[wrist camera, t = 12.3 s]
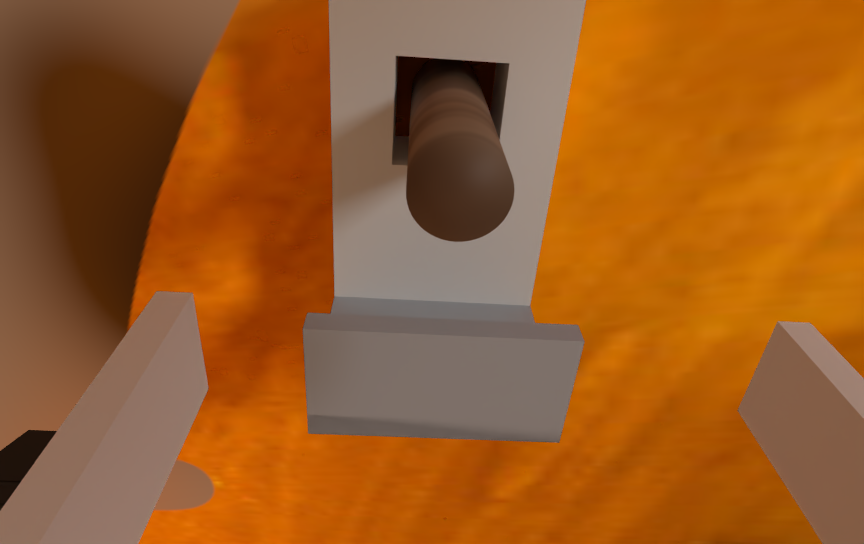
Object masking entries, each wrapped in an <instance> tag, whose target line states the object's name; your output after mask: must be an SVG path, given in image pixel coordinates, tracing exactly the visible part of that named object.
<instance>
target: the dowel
mask: <svg viewBox="0 0 864 544" xmlns="http://www.w3.org/2000/svg"><path fill="white" fill-rule="evenodd" d="M513 199H514V181H513V177H512V174H511V171H510V168H509V165H508V163H507V160H506V157H505V154H504V151H503V148H502V146H501V143H500V140H499V137H498V134H497V132H496V129H495V126H494V123H493V120H492V117H491V115H490V112H489V109H488V106H487V103H486V101H485V98H484V95H483V92H482V89H481V86H480V84H479V81H478V78H477V76H476V74H475V72H474V70H473V69H472V68H471V67H470V66H469V65H468V64H467V63H466V62H464V61H462V60H452V59H437V58H434V59H432V60H430V61H428V62H427V63H425V64H424V65H423V66H422V67H421V68H420V69H419V71H418V72H417V74H416V75H415V78H414V80H413V84H412V92H411V110H410V128H409V146H408V164H407V182H406V200H407V205H408V208H409V211H410V213H411V215H412V217H413V218H414V220H415V221H416V222H417V224H418V225H419V226H420V227H421V228H422V229H423V230H425V231H426V232H428V233H429V234H431V235H433V236H435V237H437V238H439V239H442V240H447V241H453V242H464V241H471V240H475V239H478V238H481V237H483V236H485V235H487V234H489V233H490V232H492V231H493V230H494V229H496V228H497V227H498V226H499V225H500V224H501V223H502V222H503V221H504V219H505V218H506V216H507V215H508V213H509V211H510V209H511V206H512V203H513Z"/></svg>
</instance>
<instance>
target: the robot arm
mask: <svg viewBox="0 0 864 544" xmlns="http://www.w3.org/2000/svg"><path fill="white" fill-rule="evenodd" d="M208 389H209V388H208V382H207V376H206V370H205V364H204V358H203V352H202V346H201V340H200V334H199V328H198V322H197V316H196V310H195V304H194V298H193V293H184V292H163V291H157V292H156V293H155V294H154V296H153V297H152V299H151V300H150V301H149V303H148V304H147V306H146V307H145V308H144V310H143V311H142V313H141V314H140V315H139V317H138V318H137V320H136V321H135V322H134V324H133V325H132V327H131V328H130V329H129V331H128V332H127V334H126V335H125V336H124V338H123V339H122V341H121V342H120V344H119V345H118V346H117V348H116V349H115V351H114V352H113V353H112V355H111V356H110V358H109V359H108V360H107V362H106V363H105V365H104V366H103V367H102V369H101V370H100V372H99V373H98V374H97V376H96V377H95V379H94V380H93V381H92V383H91V384H90V386H89V387H88V388H87V390H86V391H85V393H84V394H83V395H82V397H81V398H80V400H79V401H78V402H77V404H76V406H75V407H74V408H73V410H72V411H71V412H70V414H69V415H68V417H67V418H66V419H65V421H64V422H63V424H62V425H61V426H60V428H59V429H58V431H39V430H28V431H27V432H25V433H24V434H23V435H21V436H20V437H18V438H17V439H16V440H15V441H13V442H12V443H10V444H9V445H8V446H6V447H5V448H4V449H2V450H1V451H0V544H138V543H139V541H140V538H141V536H142V534H143V532H144V530H145V527H146V525H147V523H148V521H149V519H150V516H151V514H152V512H153V510H154V508H155V505H156V503H157V501H158V499H159V496H160V494H161V492H162V490H163V488H164V485H165V483H166V481H167V479H168V477H169V475H170V472H171V470H172V468H173V465H174V463H175V461H176V459H177V457H178V455H179V453H180V450H181V448H182V446H183V444H184V442H185V439H186V437H187V435H188V433H189V431H190V428H191V426H192V424H193V422H194V420H195V417H196V415H197V413H198V411H199V409H200V406H201V404H202V402H203V400H204V398H205V395H206V393H207V391H208ZM738 412H739V413H740V415H741V417H742V418H743V420H744V421H745V423H746V424H747V426H748V428H749V429H750V431H751V432H752V434H753V435H754V437H755V438H756V440H757V442H758V443H759V445H760V446H761V448H762V449H763V451H764V453H765V454H766V456H767V457H768V459H769V460H770V462H771V463H772V465H773V467H774V468H775V470H776V471H777V473H778V474H779V476H780V477H781V479H782V481H783V482H784V484H785V485H786V487H787V488H788V490H789V492H790V493H791V495H792V496H793V498H794V499H795V501H796V502H797V504H798V506H799V507H800V509H801V510H802V512H803V513H804V515H805V517H806V518H807V520H808V521H809V523H810V524H811V526H812V527H813V529H814V531H815V532H816V534H817V535H818V537H819V538H820V540H821V542H822V543H823V544H864V379H863V377H862V376H861V375H860V374H859V373H858V372H857V371H856V370H855V369H854V368H853V367H852V366H851V365H850V364H849V363H848V362H847V361H846V360H845V359H844V358H843V357H842V356H841V355H840V353H839V352H838V351H837V350H836V349H835V348H834V347H833V346H832V345H831V344H830V343H829V342H828V341H827V340H826V339H825V338H824V337H823V336H822V335H821V334H820V333H819V332H818V331H817V329H816V328H815V327H814V326H813V325H812V324H811V323H801V322H780V321H778V322H777V324H776V326H775V329H774V331H773V333H772V335H771V337H770V340H769V342H768V344H767V346H766V348H765V351H764V353H763V355H762V357H761V360H760V362H759V364H758V366H757V368H756V371H755V373H754V375H753V377H752V380H751V382H750V384H749V386H748V388H747V391H746V393H745V395H744V397H743V399H742V402H741V404H740V406H739V408H738Z"/></svg>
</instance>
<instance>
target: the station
mask: <svg viewBox="0 0 864 544" xmlns="http://www.w3.org/2000/svg"><path fill="white" fill-rule="evenodd" d="M585 4H586V0H329V41H330V92H331V144H332V195H333V247H334V301H333V305H332V309H331V314H326V313H307V316H306V319H305V323H304V326H303V344H304V362H305V381H306V399H307V418H308V433H310V434H337V435H365V436H393V437H420V438H448V439H476V440H503V441H531V442H558V443H559V441H560V437H561V433H562V429H563V425H564V421H565V417H566V413H567V409H568V405H569V401H570V397H571V393H572V389H573V385H574V381H575V377H576V373H577V369H578V365H579V361H580V357H581V353H582V349H583V345H584V339H583V337H582V334H581V332H580V329H579V326H578V325H564V324H543V323H535V321H534V318H533V314H532V311H531V307H530V303H531V297H532V292H533V287H534V281H535V276H536V270H537V265H538V259H539V254H540V249H541V243H542V238H543V232H544V227H545V221H546V216H547V210H548V205H549V200H550V194H551V189H552V183H553V178H554V172H555V167H556V162H557V156H558V151H559V145H560V140H561V134H562V129H563V123H564V118H565V113H566V107H567V102H568V96H569V91H570V85H571V80H572V74H573V69H574V64H575V58H576V53H577V47H578V42H579V36H580V31H581V26H582V20H583V15H584V9H585ZM398 56H408V57H423V58H437V59H452V60H467V61H482V62H496V67H495V76H494V84H493V93H492V101H491V110H490V115H491V117H492V120H493V123H494V126H495V129H496V132H497V134H498V137H499V140H500V143H501V146H502V148H503V151H504V154H505V157H506V160H507V163H508V165H509V168H510V171H511V174H512V177H513V181H514V199H513V203H512V206H511V209H510V211H509V213H508V215H507V216H506V218H505V219H504V221H503V222H502V223H501V224H500V225H499V226H498V227H497V228H496V229H494V230H493V231H492V232H490V233H489V234H487V235H485V236H483V237H481V238H478V239H475V240H471V241H464V242H453V241H447V240H442V239H439V238H437V237H435V236H433V235H431V234H429V233H428V232H426V231H425V230H423V229H422V228H421V227H420V226H419V225H418V224H417V222H416V221H415V220H414V218H413V217H412V215H411V213H410V211H409V208H408V205H407V200H406V182H407V164H408V146H409V136H395V132H396V105H397V78H398Z"/></svg>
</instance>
